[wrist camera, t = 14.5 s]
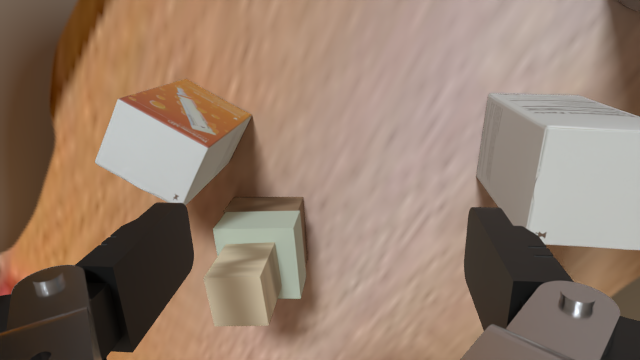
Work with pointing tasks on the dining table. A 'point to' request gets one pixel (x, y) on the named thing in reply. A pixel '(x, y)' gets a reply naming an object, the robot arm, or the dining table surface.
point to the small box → (171, 139)
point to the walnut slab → (270, 208)
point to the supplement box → (564, 168)
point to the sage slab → (269, 229)
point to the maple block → (244, 284)
